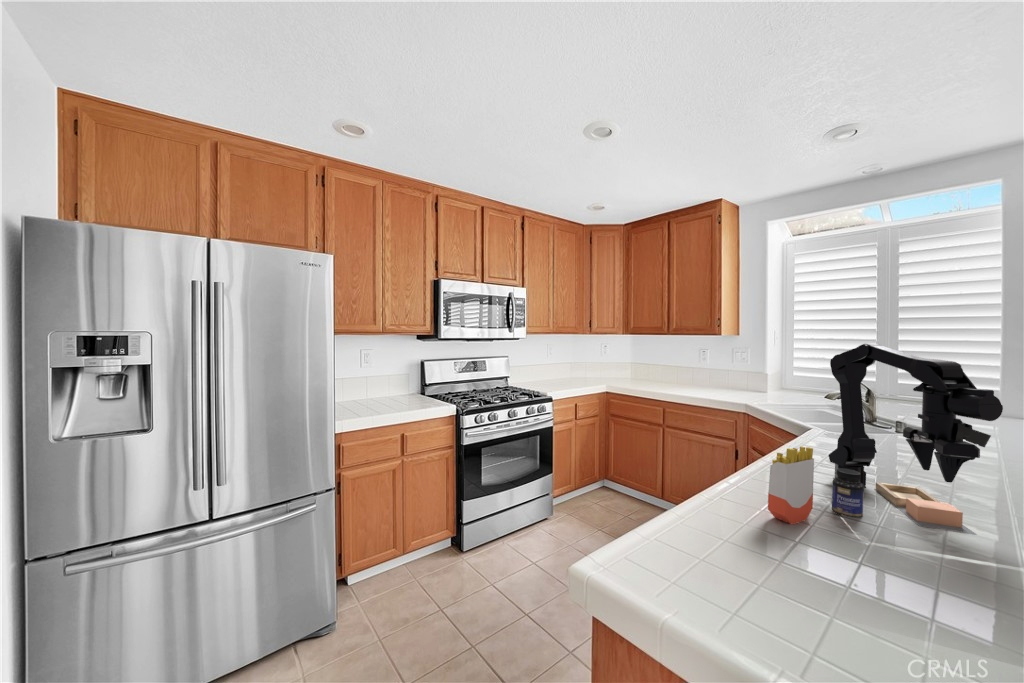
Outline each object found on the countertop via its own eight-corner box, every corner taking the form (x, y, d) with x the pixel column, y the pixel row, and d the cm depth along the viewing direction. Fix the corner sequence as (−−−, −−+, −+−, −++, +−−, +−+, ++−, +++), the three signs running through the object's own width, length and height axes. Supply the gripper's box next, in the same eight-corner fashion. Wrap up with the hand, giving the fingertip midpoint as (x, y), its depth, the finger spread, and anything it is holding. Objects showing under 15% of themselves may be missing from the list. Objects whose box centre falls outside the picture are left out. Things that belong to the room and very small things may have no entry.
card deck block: (917, 520, 98) (917, 506, 98) (905, 511, 103) (906, 497, 103) (962, 527, 94) (962, 512, 94) (948, 517, 100) (948, 503, 99)
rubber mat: (918, 528, 95) (918, 525, 95) (873, 490, 118) (873, 488, 118) (977, 537, 91) (977, 534, 91) (918, 496, 114) (918, 494, 114)
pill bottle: (834, 516, 101) (835, 472, 101) (828, 507, 106) (830, 465, 106) (866, 522, 98) (867, 477, 98) (859, 512, 103) (860, 469, 103)
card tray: (895, 505, 106) (895, 497, 106) (875, 489, 117) (875, 482, 117) (943, 512, 103) (943, 503, 103) (918, 494, 114) (918, 487, 114)
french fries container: (765, 518, 99) (767, 445, 99) (793, 510, 104) (795, 441, 103) (785, 526, 95) (787, 451, 95) (812, 518, 100) (814, 446, 99)
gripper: (1014, 423, 87) (1012, 495, 87) (958, 408, 104) (956, 468, 104) (945, 418, 91) (943, 487, 91) (902, 405, 108) (901, 463, 108)
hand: (936, 475), depth 99 cm, fingers open, 9 cm apart
